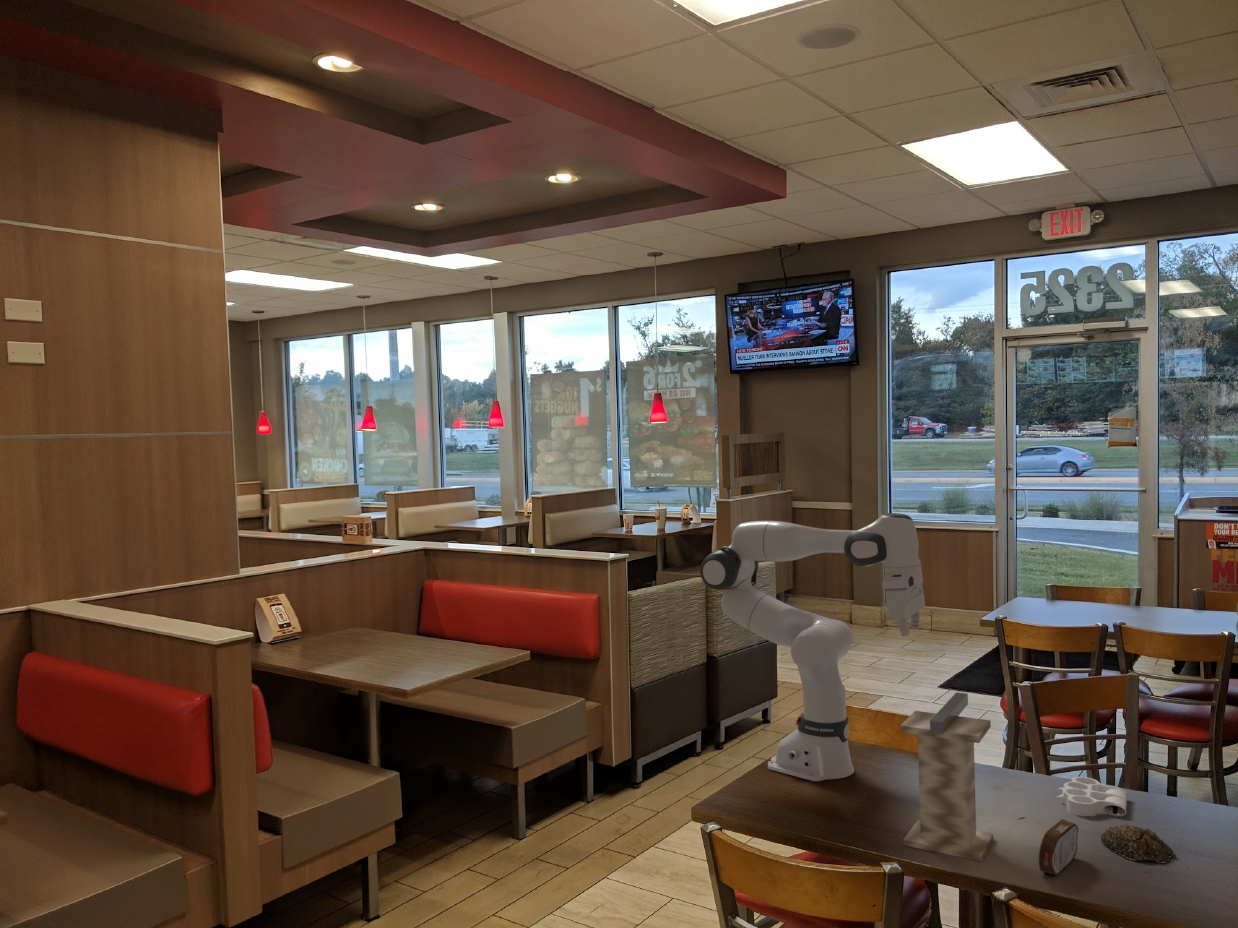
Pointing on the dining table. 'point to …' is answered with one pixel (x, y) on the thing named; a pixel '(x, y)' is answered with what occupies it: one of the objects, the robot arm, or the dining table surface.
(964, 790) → the shelf stand
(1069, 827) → the tin
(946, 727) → the bar
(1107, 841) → the bread roll
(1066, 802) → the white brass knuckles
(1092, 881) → the dining table surface
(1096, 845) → the dining table surface
